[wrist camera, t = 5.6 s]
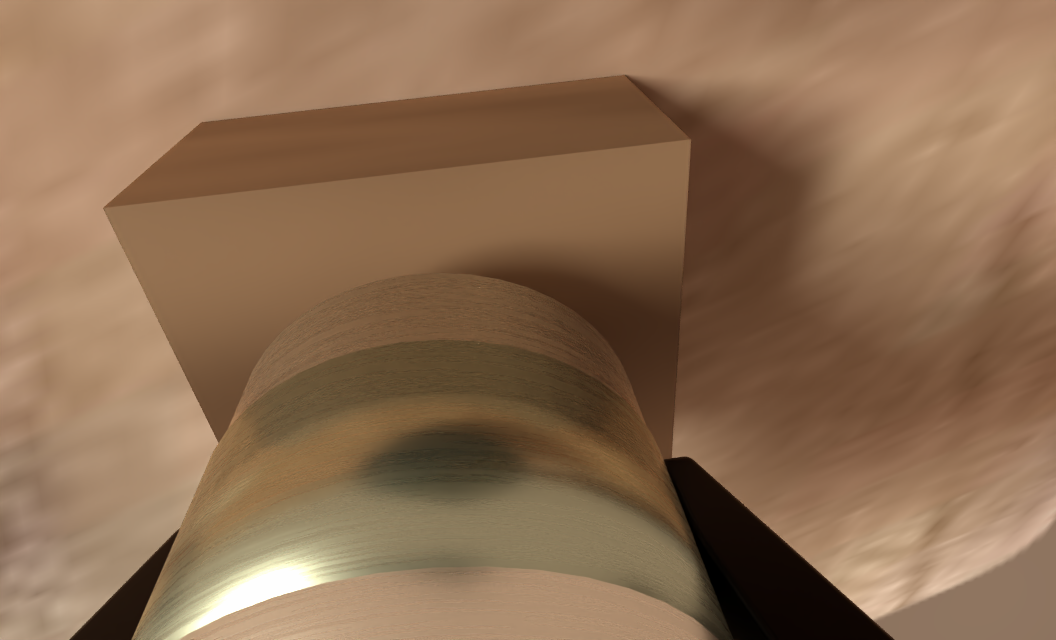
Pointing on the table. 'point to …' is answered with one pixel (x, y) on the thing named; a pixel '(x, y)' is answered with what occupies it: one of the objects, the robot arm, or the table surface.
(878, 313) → the table surface
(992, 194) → the table surface
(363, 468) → the tin
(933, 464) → the table surface
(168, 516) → the table surface
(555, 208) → the block
